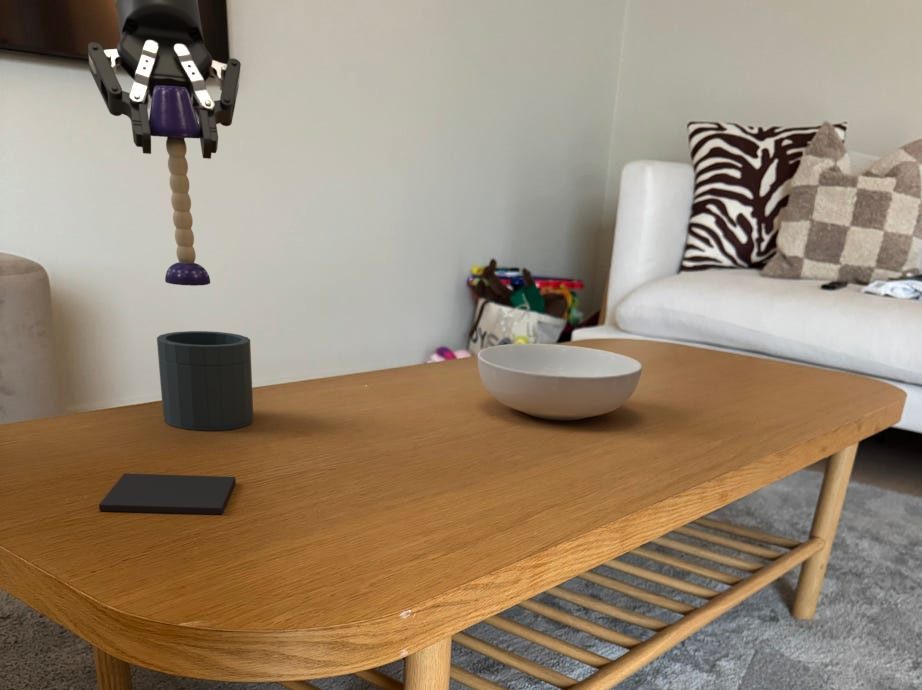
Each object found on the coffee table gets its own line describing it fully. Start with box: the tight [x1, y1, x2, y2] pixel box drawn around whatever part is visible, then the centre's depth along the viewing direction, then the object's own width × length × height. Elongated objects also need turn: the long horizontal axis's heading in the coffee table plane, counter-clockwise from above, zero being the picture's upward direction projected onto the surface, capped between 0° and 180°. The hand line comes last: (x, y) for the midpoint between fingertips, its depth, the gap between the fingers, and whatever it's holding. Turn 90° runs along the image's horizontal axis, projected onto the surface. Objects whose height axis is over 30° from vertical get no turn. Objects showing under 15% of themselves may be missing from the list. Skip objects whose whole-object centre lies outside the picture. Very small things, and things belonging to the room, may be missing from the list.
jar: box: [156, 330, 254, 432], centre depth 107 cm, size 10×10×9 cm
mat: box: [98, 472, 237, 515], centre depth 84 cm, size 10×9×1 cm
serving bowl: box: [477, 343, 643, 421], centre depth 122 cm, size 21×21×7 cm
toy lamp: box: [148, 86, 211, 287], centre depth 90 cm, size 5×5×17 cm
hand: (177, 148), depth 87 cm, fingers closed on toy lamp, 4 cm apart
